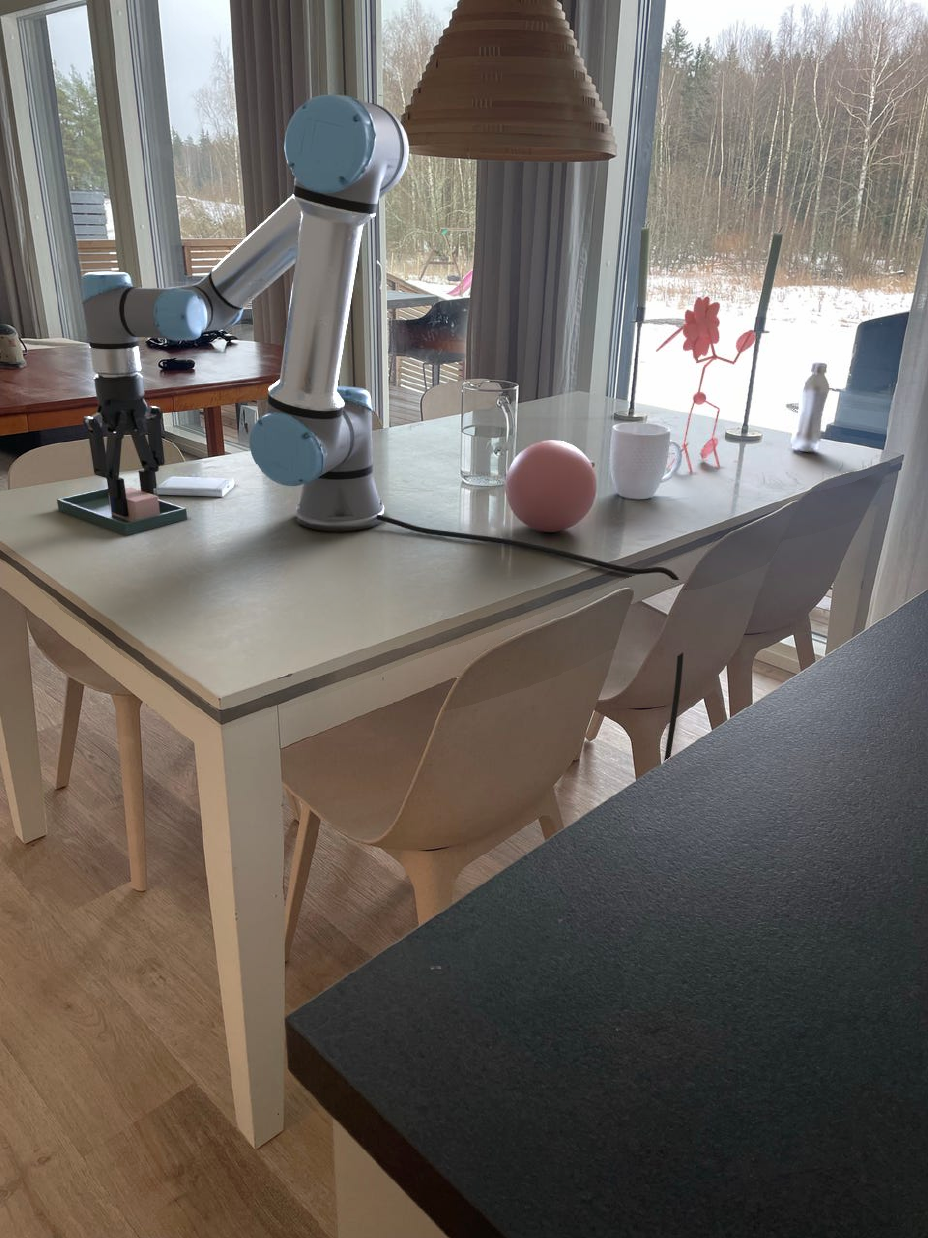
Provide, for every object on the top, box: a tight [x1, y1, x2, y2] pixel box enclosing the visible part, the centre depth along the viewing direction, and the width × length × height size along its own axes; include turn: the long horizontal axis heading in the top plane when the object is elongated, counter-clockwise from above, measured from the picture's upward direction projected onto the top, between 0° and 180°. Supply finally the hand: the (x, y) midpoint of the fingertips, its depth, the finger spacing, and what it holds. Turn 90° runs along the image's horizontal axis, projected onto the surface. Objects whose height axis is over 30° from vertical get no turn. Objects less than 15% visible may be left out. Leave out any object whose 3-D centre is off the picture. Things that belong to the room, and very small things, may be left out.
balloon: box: [504, 439, 598, 533], centre depth 159 cm, size 15×20×15 cm
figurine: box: [655, 295, 757, 474], centre depth 198 cm, size 15×26×35 cm, turn 127°
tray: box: [56, 487, 188, 537], centre depth 163 cm, size 21×12×2 cm, turn 51°
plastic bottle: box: [790, 362, 830, 453], centre depth 214 cm, size 6×7×20 cm
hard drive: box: [156, 475, 235, 498], centre depth 178 cm, size 2×8×12 cm
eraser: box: [108, 486, 160, 522], centre depth 160 cm, size 8×5×4 cm, turn 51°
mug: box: [609, 422, 683, 500], centre depth 179 cm, size 15×11×13 cm
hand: (136, 510), depth 160 cm, fingers closed on eraser, 5 cm apart
